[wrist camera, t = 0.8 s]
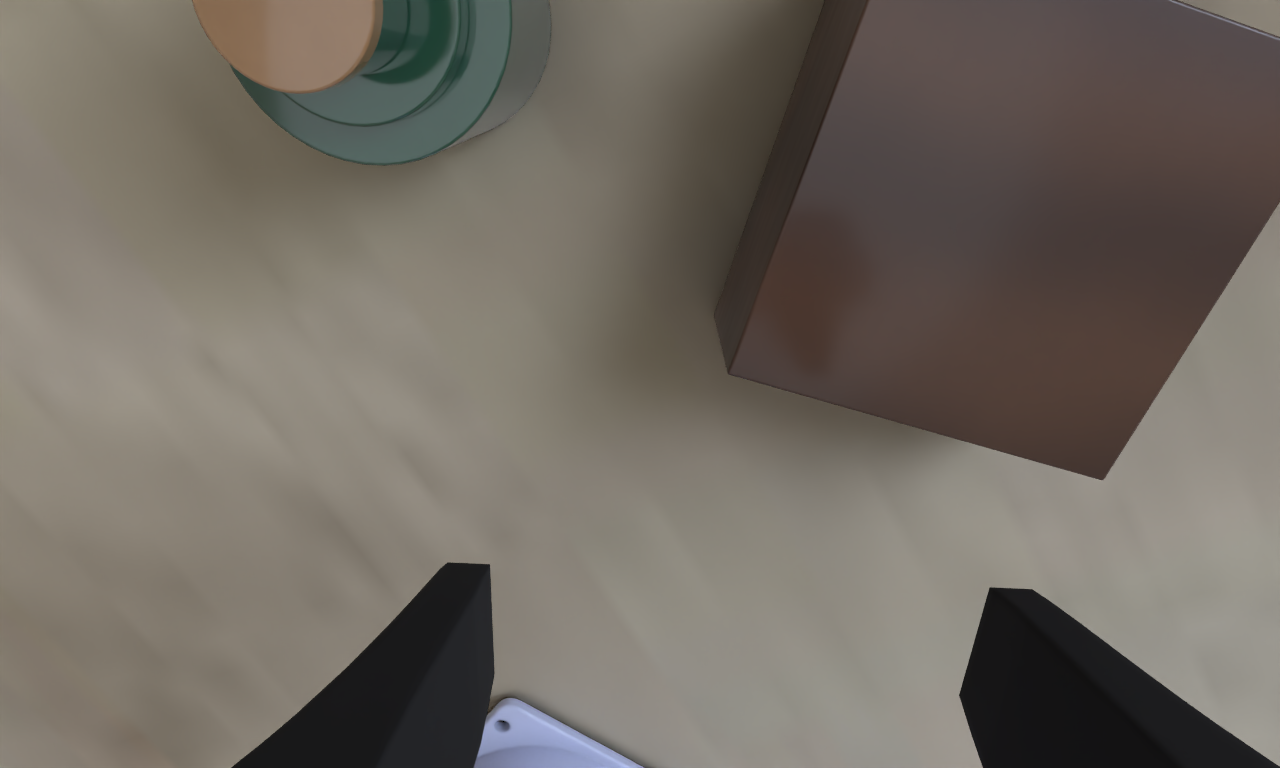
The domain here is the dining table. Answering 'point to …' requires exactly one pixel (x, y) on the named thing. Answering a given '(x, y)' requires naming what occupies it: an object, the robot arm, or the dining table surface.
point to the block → (1005, 214)
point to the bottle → (383, 68)
